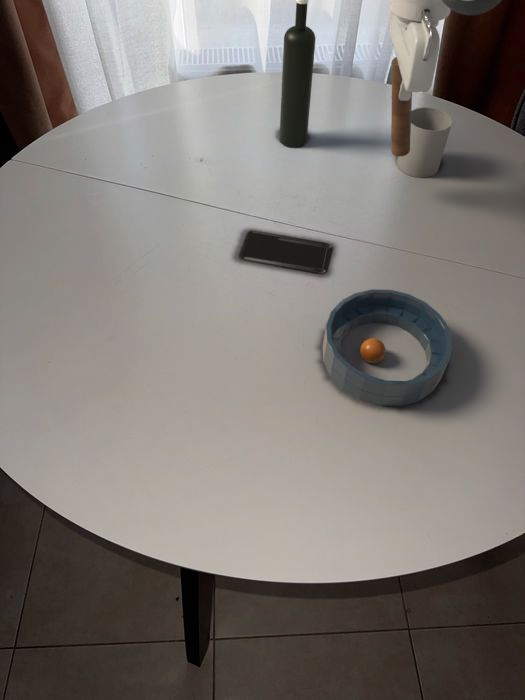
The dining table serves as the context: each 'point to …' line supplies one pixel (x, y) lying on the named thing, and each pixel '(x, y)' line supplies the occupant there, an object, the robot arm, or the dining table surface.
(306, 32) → the wine bottle
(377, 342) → the bead
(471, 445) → the dining table surface
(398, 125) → the stirring stick
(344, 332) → the blue faceted ring
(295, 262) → the phone
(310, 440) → the dining table surface
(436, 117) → the cup
